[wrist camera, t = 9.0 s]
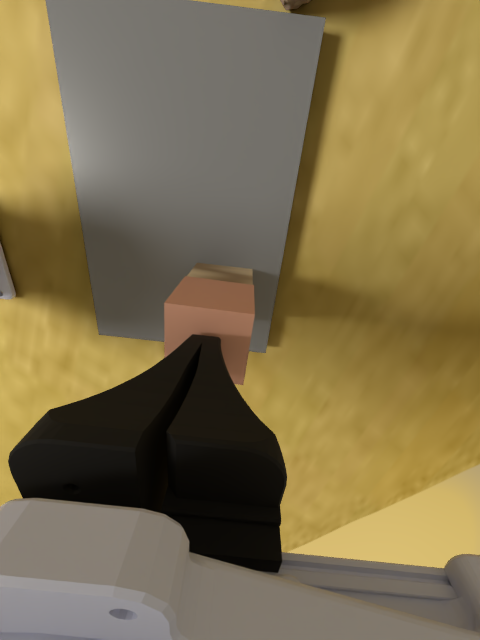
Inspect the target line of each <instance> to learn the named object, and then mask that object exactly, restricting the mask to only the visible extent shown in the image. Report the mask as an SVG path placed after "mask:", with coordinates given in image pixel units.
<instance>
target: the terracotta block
mask: <svg viewBox="0 0 480 640" xmlns="http://www.w3.org/2000/svg"><path fill="white" fill-rule="evenodd" d="M254 317H255V303H254V285H250V284H242V283H234V282H227V281H219V280H212V279H204V278H196V277H189V276H185V277H184V278H183V279H182V281H181V282H180V283H179V285H178V286H177V287H176V288H175V290H174V291H173V292H172V293H171V295H170V296H169V297H168V299H167V300H166V301H165V302H164V338H165V357H167V356H168V355H169V354H170V353H172V352H173V351H174V350H175V349H176V348H178V347H179V346H180V345H181V344H182V343H183V342H184V341H185V340H186V339H187V338H189V337H190V336H191V335H192V334H196V335H205V336H214V337H219V338H220V339H221V350H222V355H223V358H224V361H225V364H226V367H227V370H228V372H229V374H230V377H231V379H232V381H233V383H234V384H240V385H243V383H244V377H245V371H246V365H247V359H248V353H249V347H250V341H251V335H252V329H253V323H254Z"/></svg>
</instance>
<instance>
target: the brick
mask: <svg viewBox="0 0 480 640" xmlns="http://www.w3.org/2000/svg"><path fill="white" fill-rule="evenodd" d="M310 1H311V0H281V2H282V4H283V6H284V8H285V9H286V10H289V9H297V8H299V7H300V6H301V5H302V4H306V3H309V2H310Z"/></svg>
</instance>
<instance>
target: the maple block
mask: <svg viewBox="0 0 480 640" xmlns="http://www.w3.org/2000/svg"><path fill="white" fill-rule="evenodd" d="M187 276H189V277H196V278H204V279H212V280H219V281H227V282H234V283H242V284H250V285H253V271H252V269H248V268H239V267H230V266H222V265H213V264H204V263H196V265H195V266H194V267H193V269H192V270H191V271H190V273H189V274H188V275H187Z"/></svg>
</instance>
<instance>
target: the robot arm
mask: <svg viewBox="0 0 480 640" xmlns="http://www.w3.org/2000/svg"><path fill="white" fill-rule="evenodd" d="M1 292H2V293H1ZM15 296H16V293H15V289H14V286H13V283H12V279H11V276H10V273H9V270H8V266H7V263H6V260H5V256H4V253H3V250H2V246H1V243H0V299H12V298H14V297H15ZM8 462H9V467H10V471H11V474H12V476H13V478H14V480H15V482H16V484H17V487H18V489H19V491H20V493H21V495H22V497H23V499H14V500H11V501H8V502H6V503H5V504H3V505H2V506H0V640H480V555H472V554H461V555H457V556H454V557H453V558H451V559H450V560H449V561H448V562H447V564H446V565H445V568H434V567H424V566H414V565H404V564H394V563H384V562H374V561H363V560H354V559H343V558H334V557H324V556H314V555H304V554H294V553H284V552H282V551H281V540H280V528H279V526H280V524H281V513H280V504H281V500H282V497H283V494H284V490H285V487H286V481H287V474H286V468H285V463H284V459H283V456H282V452H281V449H280V446H279V444H278V441H277V438H276V436H275V434H274V433H273V432H272V431H271V430H270V429H269V428H268V427H267V426H266V425H265V424H264V423H263V422H262V421H260V419H259V418H258V417H257V416H256V415H255V414H254V412H253V411H252V410H251V409H250V407H249V406H248V405H247V403H246V402H245V401H244V399H243V398H242V396H241V395H240V393H239V392H238V390H237V388H236V386H235V385H234V383H233V381H232V379H231V377H230V374H229V372H228V370H227V367H226V364H225V361H224V358H223V355H222V350H221V339H220V338H219V337H214V336H205V335H196V334H192V335H191V336H190V337H189V338H187V339H186V340H185V341H184V342H183V343H182V344H181V345H180V346H179V347H178V348H176V349H175V350H174V351H173V352H172V353H170V354H169V355H168V356H167V357H165V358H164V359H163V360H161V361H160V362H159V363H157V364H156V365H154V366H153V367H151V368H150V369H148V370H147V371H145V372H143V373H142V374H140V375H138V376H136V377H135V378H133V379H131V380H129V381H126V382H124V383H122V384H120V385H118V386H116V387H114V388H112V389H109V390H107V391H105V392H102V393H100V394H97V395H94V396H92V397H89V398H86V399H83V400H80V401H77V402H74V403H71V404H67V405H64V406H61V407H58V408H54V409H50V410H49V411H48V412H47V413H46V414H45V415H44V416H43V417H42V418H41V419H40V420H39V421H38V422H37V423H36V424H35V425H34V427H33V428H32V429H31V430H30V431H29V432H28V433H27V434H26V435H25V436H24V438H23V439H22V440H21V441H20V442H19V443H18V444H17V445H16V446H15V448H14V449H13V450H12V451H11V452H10V455H9V460H8Z"/></svg>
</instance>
